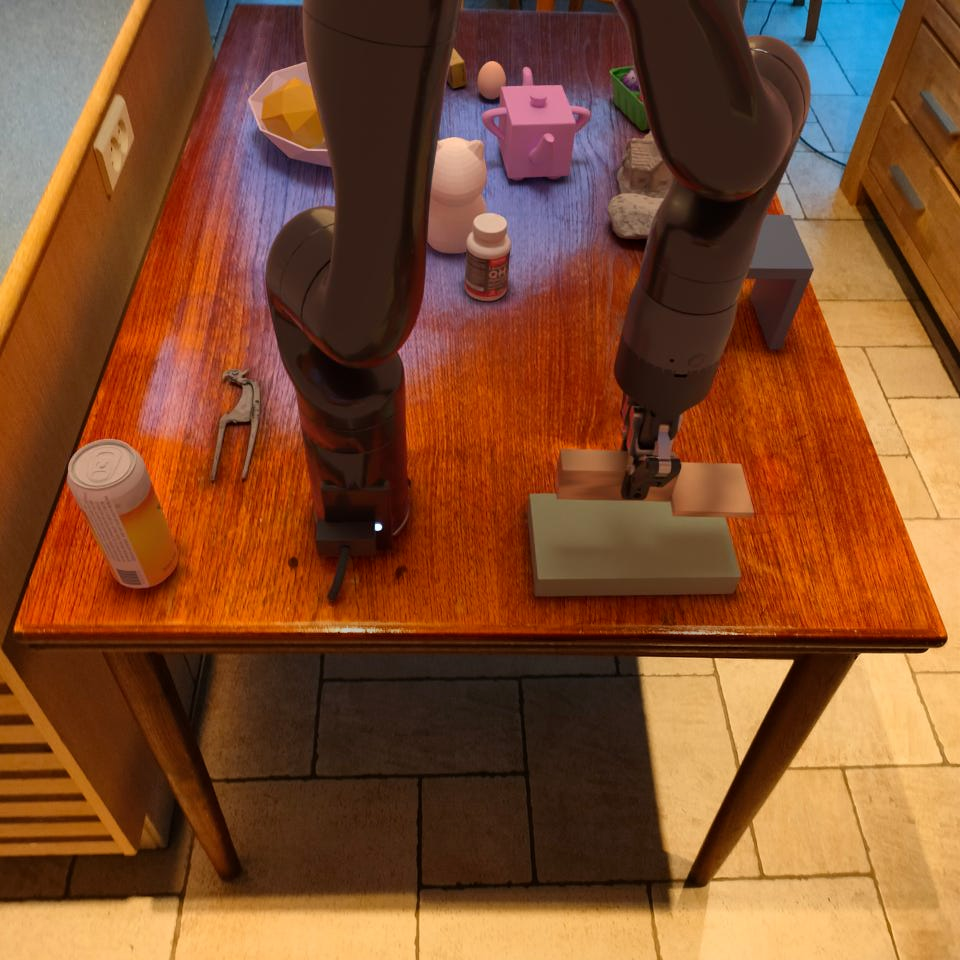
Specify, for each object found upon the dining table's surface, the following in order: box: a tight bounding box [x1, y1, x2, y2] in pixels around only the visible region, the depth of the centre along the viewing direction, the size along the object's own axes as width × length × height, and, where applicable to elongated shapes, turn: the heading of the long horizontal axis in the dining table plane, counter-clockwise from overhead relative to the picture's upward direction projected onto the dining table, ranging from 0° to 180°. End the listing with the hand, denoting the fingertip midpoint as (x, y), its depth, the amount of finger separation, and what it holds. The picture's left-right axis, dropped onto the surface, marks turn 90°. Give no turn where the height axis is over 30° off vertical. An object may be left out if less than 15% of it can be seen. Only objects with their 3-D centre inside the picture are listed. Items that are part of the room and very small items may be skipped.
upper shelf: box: [655, 214, 815, 351], centre depth 106 cm, size 10×16×12 cm, turn 93°
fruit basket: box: [609, 65, 650, 131], centre depth 137 cm, size 11×9×11 cm
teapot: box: [481, 66, 592, 181], centre depth 127 cm, size 15×13×11 cm
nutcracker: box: [210, 368, 261, 482], centre depth 96 cm, size 16×1×5 cm
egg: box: [476, 60, 507, 100], centre depth 140 cm, size 4×4×6 cm
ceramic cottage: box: [615, 130, 675, 198], centre depth 125 cm, size 16×16×15 cm
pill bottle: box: [464, 212, 512, 302], centre depth 109 cm, size 5×5×10 cm
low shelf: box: [526, 493, 742, 597], centre depth 87 cm, size 10×19×3 cm, turn 92°
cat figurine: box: [427, 136, 488, 255], centre depth 114 cm, size 9×12×15 cm
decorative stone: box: [607, 193, 664, 240], centre depth 120 cm, size 12×11×5 cm
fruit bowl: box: [247, 61, 331, 168], centre depth 128 cm, size 28×27×11 cm
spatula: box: [554, 448, 755, 519], centre depth 78 cm, size 17×6×4 cm, turn 91°
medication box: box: [446, 47, 467, 89], centre depth 145 cm, size 12×3×4 cm, turn 21°
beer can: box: [66, 438, 179, 589], centre depth 79 cm, size 6×6×15 cm
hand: (630, 483), depth 79 cm, fingers closed on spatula, 2 cm apart
